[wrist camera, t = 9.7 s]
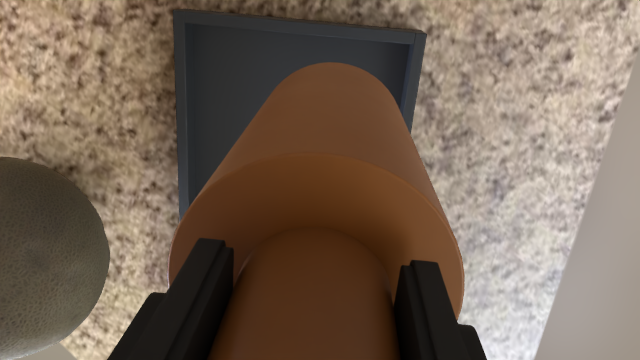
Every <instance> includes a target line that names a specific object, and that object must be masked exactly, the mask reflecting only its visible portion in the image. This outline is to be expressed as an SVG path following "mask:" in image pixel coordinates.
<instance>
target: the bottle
mask: <svg viewBox="0 0 640 360" xmlns="http://www.w3.org/2000/svg"><path fill="white" fill-rule="evenodd" d="M199 238H208V239H218V240H225V243H226V247H233V249H234V272H233V291H232V293H231V296H230V299H229V301H228V304H227V306H226V309H225V312H224V314H223V317H222V320H221V322H220V325H219V328H218V330H217V333H216V336H215V338H214V341H213V343H212V346H211V349H210V351H209V354H208V357H207V359H206V360H401V356H400V349H399V342H398V335H397V328H396V322H395V315H394V308H393V307H394V301H395V296H396V290H397V284H398V279H399V273H400V268H401V266H402V265H407V266H409V264H410V262H411V260H422V261H432V262H437V263H438V265H439V268H440V271H441V274H442V277H443V280H444V283H445V286H446V289H447V292H448V295H449V298H450V301H451V304H452V307H453V310H454V314H455V317H456V320H458V317H459V314H460V311H461V308H462V302H463V296H464V269H463V262H462V256H461V253H460V250H459V247H458V244H457V241H456V238H455V236H454V234H453V232H452V229H451V227H450V225H449V222H448V220H447V218H446V216H445V213H444V211H443V209H442V206H441V204H440V202H439V199H438V197H437V195H436V193H435V190H434V188H433V186H432V183H431V181H430V179H429V176H428V174H427V172H426V170H425V167H424V165H423V163H422V160H421V158H420V156H419V154H418V151H417V149H416V147H415V144H414V142H413V140H412V137H411V135H410V133H409V131H408V128H407V126H406V124H405V121H404V119H403V117H402V115H401V112H400V110H399V108H398V105H397V103H396V101H395V99H394V97H393V96H392V95H391V93H390V92H389V90H388V89H387V88H386V87H385V86H384V85H383V83H382V82H380V81H379V80H378V79H377V78H376V77H375V76H373V75H371V74H370V73H368V72H367V71H365V70H362V69H360V68H358V67H355V66H352V65H349V64H343V63H334V62H326V63H318V64H313V65H309V66H307V67H304V68H301V69H299V70H297V71H295V72H294V73H292V74H290V75H289V76H288V77H286V78H285V79H284V80H283V81H282V82H281V83H280V84H279V85H278V86H277V87H276V88H275V89H274V90H273V92H272V93H271V94H270V96H269V97H268V99H267V100H266V101H265V103H264V104H263V105H262V107H261V108H260V110H259V111H258V112H257V114H256V115H255V117H254V118H253V119H252V121H251V122H250V124H249V125H248V126H247V128H246V129H245V130H244V132H243V133H242V135H241V136H240V137H239V139H238V140H237V142H236V143H235V144H234V146H233V147H232V148H231V150H230V151H229V153H228V154H227V155H226V157H225V158H224V160H223V161H222V162H221V164H220V165H219V166H218V168H217V169H216V171H215V172H214V173H213V175H212V176H211V178H210V179H209V180H208V182H207V183H206V185H205V186H204V187H203V189H202V190H201V191H200V193H199V194H198V196H197V197H196V198H195V200H194V201H193V203H192V204H191V205H190V207H189V208H188V209H187V211H186V212H185V214H184V216H183V218H182V219H181V221H180V223H179V225H178V227H177V229H176V231H175V234H174V237H173V240H172V242H171V246H170V251H169V257H168V270H167V279H168V287H170V286H171V284H172V282H173V281H174V279H175V277H176V276H177V274H178V272H179V271H180V269H181V267H182V265H183V264H184V262H185V260H186V259H187V257H188V255H189V254H190V252H191V250H192V249H193V247H194V245H195V244H196V242H197V240H198V239H199Z"/></svg>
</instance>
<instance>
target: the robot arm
mask: <svg viewBox="0 0 640 360" xmlns="http://www.w3.org/2000/svg"><path fill="white" fill-rule="evenodd" d="M233 272H234V249H233V247H226V243H225V240H218V239H208V238H199V239H198V240H197V242H196V244H195V245H194V247H193V249H192V250H191V252H190V254H189V255H188V257H187V259H186V260H185V262H184V264H183V265H182V267H181V269H180V271H179V272H178V274H177V276H176V277H175V279H174V281H173V282H172V284H171V286H170V287H169V289H168V291H167V292H166V293H157V292H153V293H151V294H150V295H149V296H148V298H147V299H146V300H145V302H144V304H143V305H142V307H141V308H140V310H139V311H138V313H137V314H136V316H135V317H134V319H133V321H132V322H131V324H130V325H129V327H128V328H127V330H126V331H125V333H124V335H123V336H122V338H121V339H120V341H119V342H118V344H117V345H116V347H115V348H114V350H113V352H112V353H111V355H110V356H109V358H108V359H107V360H206V359H207V357H208V354H209V351H210V349H211V346H212V343H213V341H214V338H215V336H216V333H217V330H218V328H219V325H220V322H221V320H222V317H223V314H224V312H225V309H226V306H227V304H228V301H229V299H230V296H231V293H232V291H233ZM393 308H394V315H395V322H396V328H397V335H398V342H399V349H400V356H401V360H487V359H486V356H485V353H484V351H483V348H482V345H481V343H480V340H479V337H478V335H477V332H476V330H475V328H474V327H473V326H471V325H462V324H458V323H457V320H456V317H455V314H454V310H453V307H452V304H451V301H450V298H449V295H448V292H447V289H446V286H445V283H444V280H443V277H442V274H441V271H440V268H439V265H438V263H437V262H432V261H422V260H411V262H410V264H409V266H407V265H402V266H401V268H400V273H399V279H398V284H397V290H396V296H395V301H394V307H393Z"/></svg>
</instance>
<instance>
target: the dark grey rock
mask: <svg viewBox="0 0 640 360" xmlns="http://www.w3.org/2000/svg"><path fill="white" fill-rule="evenodd" d="M109 262H110V250H109V245H108V240H107V238H106V235H105V231H104V227H103V223H102V221H101V218H100V216H99V214H98V213H97V211H96V209H95V208H94V206H93V205H92V204H91V202H90V201H89V200H88V199H87V197H86V196H85V195H84V194H83V192H82V191H81V190H80V189H79V188H78V187H76V186H75V185H74V184H73V183H72V182H71V181H69V180H68V179H67V178H65V177H63V176H62V175H60V174H59V173H58V172H56V171H54V170H52V169H50V168H47V167H45V166H43V165H39V164H36V163H33V162H30V161H27V160H23V159H18V158H10V157H0V360H11V359H18V358H21V357H24V356H27V355H30V354H33V353H36V352H39V351H41V350H44V349H46V348H48V347H50V346H52V345H54V344H56V343H58V342H60V341H61V340H63V339H64V338H66V337H67V336H68V335H69V334H71V333H72V332H73V331H74V330H75V329H76V328H77V327H78V326H79V325H80V324H81V323H82V322H83V321H84V320H85V319H86V318H87V317H88V315H89V314H90V312H91V311H92V309H93V308H94V306H95V305H96V303H97V301H98V299H99V297H100V295H101V293H102V290H103V287H104V284H105V280H106V276H107V273H108V268H109Z"/></svg>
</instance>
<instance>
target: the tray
mask: <svg viewBox="0 0 640 360" xmlns="http://www.w3.org/2000/svg"><path fill="white" fill-rule="evenodd" d="M173 31H174V62H175V92H176V123H177V154H178V185H179V215H180V221H181V219H182V218H183V216H184V214H185V212H186V211H187V209H188V208H189V207H190V205H191V204H192V203H193V201H194V200H195V198H196V197H197V196H198V194H199V193H200V191H201V190H202V189H203V187H204V186H205V185H206V183H207V182H208V180H209V179H210V178H211V176H212V175H213V173H214V172H215V171H216V169H217V168H218V166H219V165H220V164H221V162H222V161H223V160H224V158H225V157H226V155H227V154H228V153H229V151H230V150H231V148H232V147H233V146H234V144H235V143H236V142H237V140H238V139H239V137H240V136H241V135H242V133H243V132H244V130H245V129H246V128H247V126H248V125H249V124H250V122H251V121H252V119H253V118H254V117H255V115H256V114H257V112H258V111H259V110H260V108H261V107H262V105H263V104H264V103H265V101H266V100H267V99H268V97H269V96H270V94H271V93H272V92H273V90H274V89H275V88H276V87H277V86H278V85H279V84H280V83H281V82H282V81H283V80H284V79H285V78H286V77H288V76H289V75H290V74H292V73H294V72H295V71H297V70H299V69H301V68H304V67H307V66H309V65H313V64H318V63H326V62H334V63H343V64H349V65H352V66H355V67H358V68H360V69H362V70H365V71H367V72H368V73H370V74H371V75H373V76H375V77H376V78H377V79H378V80H379V81H380V82H382V83H383V85H384V86H385V87H386V88H387V89H388V90H389V92H390V93H391V95H392V96H393V97H394V99H395V101H396V103H397V105H398V108H399V110H400V112H401V115H402V117H403V119H404V121H405V124H406V126H407V128H408V131H409V133H410V134H411V128H412V122H413V116H414V110H415V104H416V98H417V92H418V85H419V79H420V73H421V67H422V61H423V55H424V49H425V43H426V37H427V34H426V33H424V32H423V31H421V30H410V29H400V28H389V27H378V26H367V25H356V24H346V23H335V22H324V21H313V20H303V19H292V18H281V17H270V16H259V15H249V14H238V13H227V12H216V11H206V10H195V9H178V10H173Z"/></svg>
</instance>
